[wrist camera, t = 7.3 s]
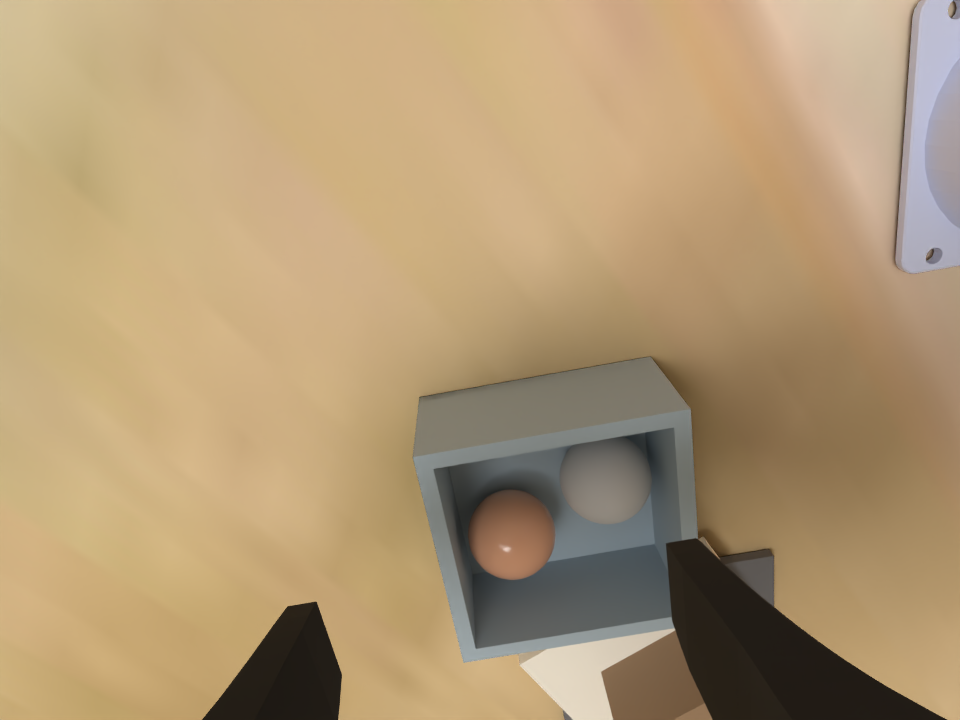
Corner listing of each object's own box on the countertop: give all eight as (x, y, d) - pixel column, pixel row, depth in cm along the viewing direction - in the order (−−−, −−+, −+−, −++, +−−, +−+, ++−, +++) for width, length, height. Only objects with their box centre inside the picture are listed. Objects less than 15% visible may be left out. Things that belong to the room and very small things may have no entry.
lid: (703, 536, 24) (750, 619, 20) (801, 669, 27) (859, 764, 23) (517, 644, 26) (528, 740, 22) (627, 759, 29) (655, 863, 25)
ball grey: (634, 409, 22) (660, 454, 19) (641, 483, 23) (666, 535, 21) (548, 424, 22) (561, 471, 20) (559, 496, 23) (573, 550, 21)
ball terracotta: (543, 466, 23) (555, 516, 20) (554, 534, 24) (567, 591, 21) (460, 480, 23) (461, 532, 20) (474, 548, 24) (477, 606, 21)
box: (650, 356, 22) (690, 408, 18) (665, 545, 25) (702, 623, 21) (419, 397, 22) (412, 457, 18) (462, 579, 25) (463, 662, 21)
